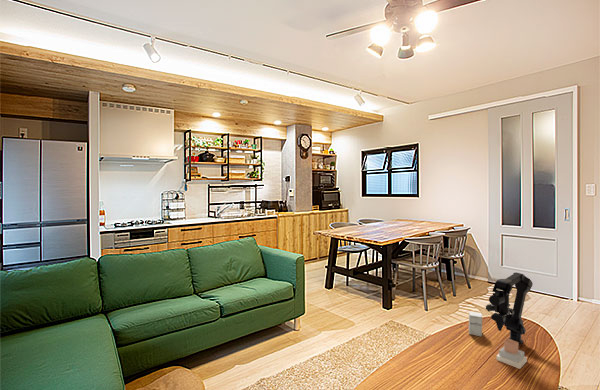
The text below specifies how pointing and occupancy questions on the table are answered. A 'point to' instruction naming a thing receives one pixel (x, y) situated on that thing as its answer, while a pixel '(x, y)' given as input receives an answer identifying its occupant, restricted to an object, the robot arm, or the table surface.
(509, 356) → the tower top
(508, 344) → the cube
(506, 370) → the table surface
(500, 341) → the table surface
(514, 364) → the tower base
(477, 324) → the supplement box
